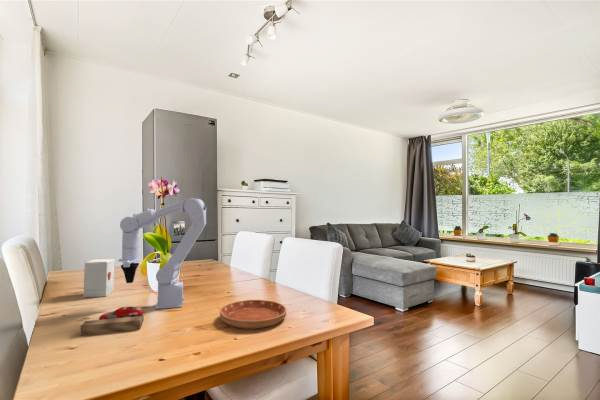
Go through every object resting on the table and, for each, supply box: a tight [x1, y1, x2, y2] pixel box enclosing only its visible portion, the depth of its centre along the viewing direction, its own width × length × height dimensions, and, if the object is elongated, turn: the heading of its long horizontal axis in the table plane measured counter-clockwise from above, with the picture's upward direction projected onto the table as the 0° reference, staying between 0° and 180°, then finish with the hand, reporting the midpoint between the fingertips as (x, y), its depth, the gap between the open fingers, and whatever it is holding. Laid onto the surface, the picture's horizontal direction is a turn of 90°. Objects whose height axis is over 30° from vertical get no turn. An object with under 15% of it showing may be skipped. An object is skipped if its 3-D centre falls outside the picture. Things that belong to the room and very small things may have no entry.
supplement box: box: [82, 258, 115, 298], centre depth 136 cm, size 9×9×15 cm
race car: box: [98, 306, 144, 320], centre depth 106 cm, size 13×5×4 cm, turn 114°
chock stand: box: [79, 315, 145, 337], centre depth 99 cm, size 16×8×3 cm, turn 108°
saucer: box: [219, 299, 287, 330], centre depth 108 cm, size 23×23×4 cm
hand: (129, 282), depth 120 cm, fingers closed
